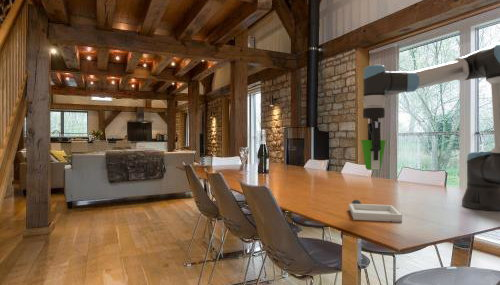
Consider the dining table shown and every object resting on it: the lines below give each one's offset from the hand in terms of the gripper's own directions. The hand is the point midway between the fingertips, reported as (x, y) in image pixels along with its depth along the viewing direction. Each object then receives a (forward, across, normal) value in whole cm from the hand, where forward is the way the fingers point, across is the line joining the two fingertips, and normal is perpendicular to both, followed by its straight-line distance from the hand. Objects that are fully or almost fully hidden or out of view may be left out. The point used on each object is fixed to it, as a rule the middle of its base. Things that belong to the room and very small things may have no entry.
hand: (373, 168), depth 122 cm
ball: (+18, -10, -5) cm, 21 cm away
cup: (+1, 0, 0) cm, 1 cm away
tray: (+18, +1, 0) cm, 18 cm away
